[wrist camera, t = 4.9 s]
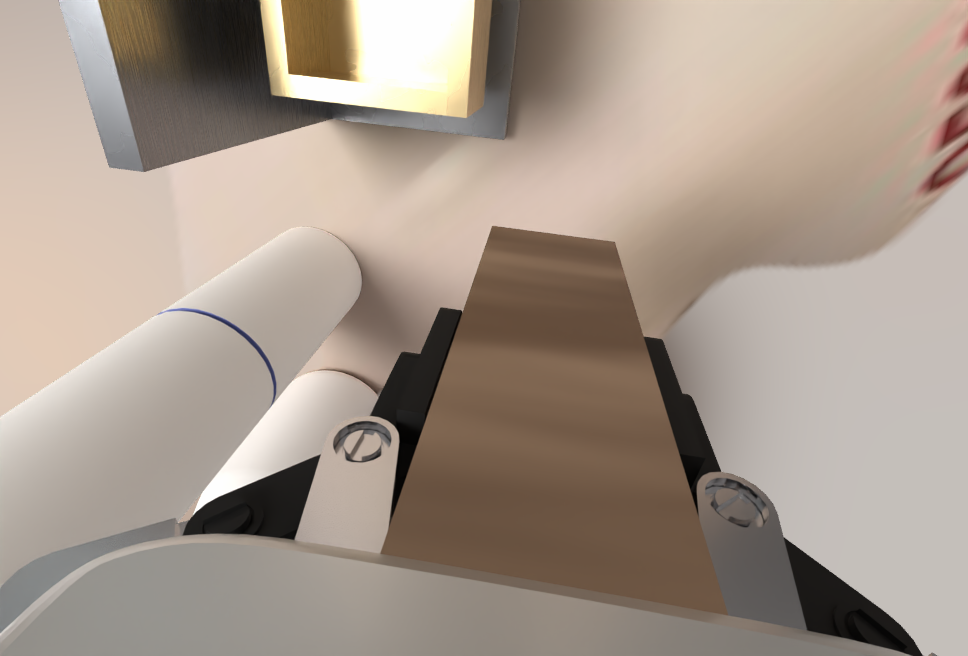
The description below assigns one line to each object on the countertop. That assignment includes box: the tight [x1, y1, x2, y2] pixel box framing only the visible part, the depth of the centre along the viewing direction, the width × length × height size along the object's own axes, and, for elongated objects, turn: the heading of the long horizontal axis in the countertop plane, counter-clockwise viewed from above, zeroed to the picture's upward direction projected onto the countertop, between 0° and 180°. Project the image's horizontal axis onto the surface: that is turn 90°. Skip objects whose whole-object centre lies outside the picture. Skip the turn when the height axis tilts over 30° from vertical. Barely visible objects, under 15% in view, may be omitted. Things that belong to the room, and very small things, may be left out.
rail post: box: [380, 226, 728, 615], centre depth 10 cm, size 4×4×14 cm
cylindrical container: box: [0, 226, 362, 588], centre depth 24 cm, size 7×7×25 cm
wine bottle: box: [193, 370, 379, 515], centre depth 29 cm, size 10×10×30 cm
